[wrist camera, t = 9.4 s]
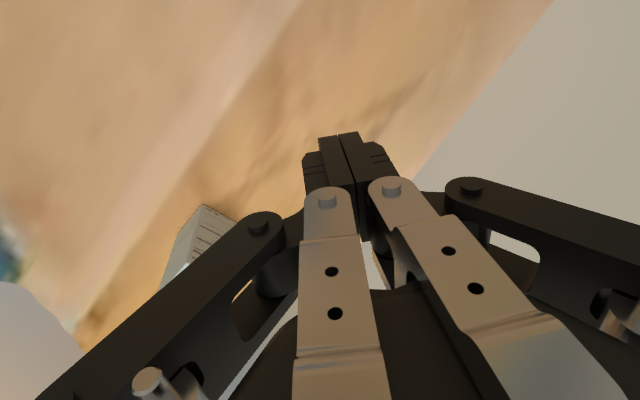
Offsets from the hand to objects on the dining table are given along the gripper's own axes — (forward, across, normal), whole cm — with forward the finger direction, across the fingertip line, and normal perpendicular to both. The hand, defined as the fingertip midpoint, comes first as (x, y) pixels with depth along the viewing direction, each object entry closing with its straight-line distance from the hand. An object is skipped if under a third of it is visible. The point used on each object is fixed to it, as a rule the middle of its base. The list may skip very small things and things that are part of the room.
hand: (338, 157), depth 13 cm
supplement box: (+31, +18, +25) cm, 44 cm away
